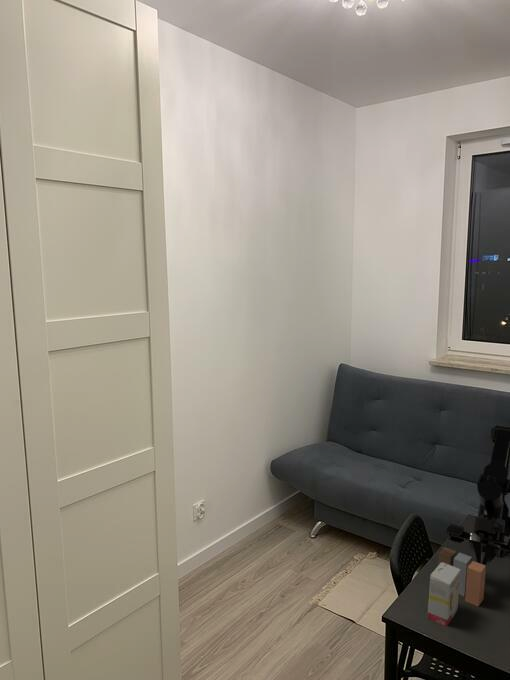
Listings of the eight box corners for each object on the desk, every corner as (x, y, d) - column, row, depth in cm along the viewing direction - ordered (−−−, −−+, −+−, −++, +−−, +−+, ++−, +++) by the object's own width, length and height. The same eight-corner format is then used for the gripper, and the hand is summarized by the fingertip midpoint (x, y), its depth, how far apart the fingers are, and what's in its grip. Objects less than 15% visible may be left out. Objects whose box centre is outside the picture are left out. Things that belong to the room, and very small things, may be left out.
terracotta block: (470, 593, 132) (472, 560, 131) (483, 599, 130) (486, 565, 129) (465, 601, 129) (467, 567, 128) (478, 606, 127) (480, 572, 126)
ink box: (447, 631, 119) (450, 584, 118) (426, 622, 122) (428, 576, 121) (458, 613, 126) (461, 568, 125) (438, 605, 129) (441, 560, 128)
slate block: (457, 584, 136) (459, 552, 135) (469, 589, 134) (471, 556, 132) (451, 591, 133) (453, 558, 132) (464, 596, 131) (466, 563, 129)
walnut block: (442, 578, 138) (444, 547, 137) (454, 583, 136) (456, 551, 135) (436, 585, 135) (438, 552, 134) (448, 590, 133) (450, 557, 132)
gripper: (450, 494, 137) (438, 551, 129) (528, 512, 128) (521, 575, 120) (454, 511, 145) (443, 566, 137) (528, 529, 135) (521, 590, 127)
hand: (480, 574), depth 130 cm, fingers closed
